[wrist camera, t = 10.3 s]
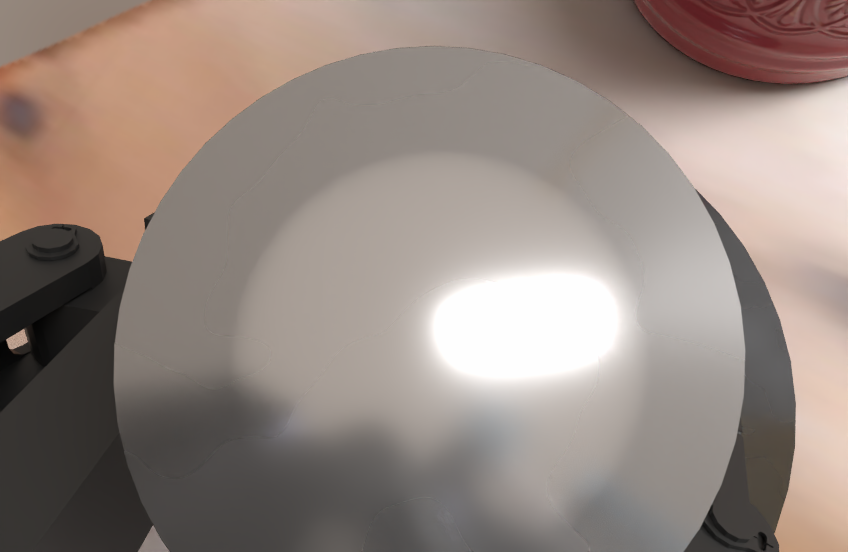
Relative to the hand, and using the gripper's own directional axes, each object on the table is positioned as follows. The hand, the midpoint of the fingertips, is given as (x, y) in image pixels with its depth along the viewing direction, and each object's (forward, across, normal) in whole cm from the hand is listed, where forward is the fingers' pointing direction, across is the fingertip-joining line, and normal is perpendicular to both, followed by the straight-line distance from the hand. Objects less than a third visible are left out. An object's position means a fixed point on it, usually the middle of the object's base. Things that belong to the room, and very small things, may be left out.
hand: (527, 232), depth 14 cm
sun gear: (+1, 0, -6) cm, 6 cm away
